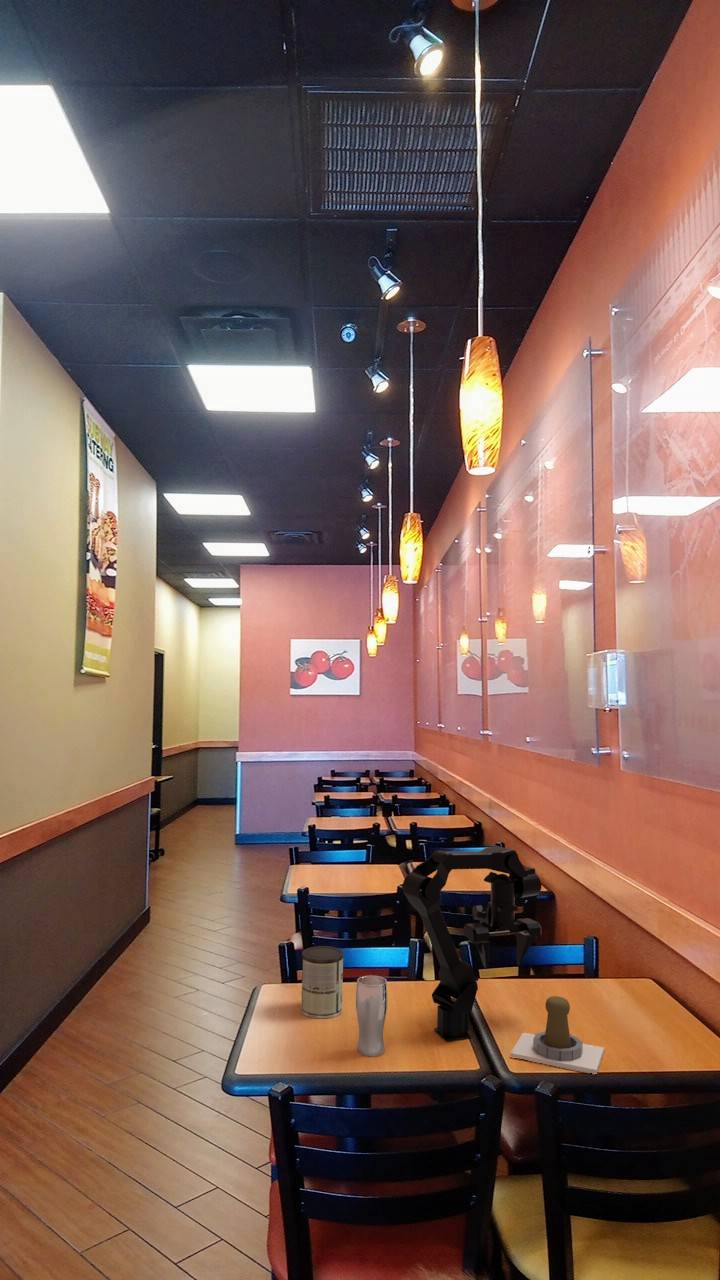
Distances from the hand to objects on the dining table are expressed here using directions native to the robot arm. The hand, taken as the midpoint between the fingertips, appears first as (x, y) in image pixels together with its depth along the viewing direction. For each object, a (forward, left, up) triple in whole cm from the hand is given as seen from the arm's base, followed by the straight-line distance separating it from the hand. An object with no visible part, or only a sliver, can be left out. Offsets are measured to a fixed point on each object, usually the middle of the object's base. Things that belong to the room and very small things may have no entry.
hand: (502, 966), depth 195 cm
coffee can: (-39, +20, -13) cm, 46 cm away
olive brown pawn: (+2, -20, -12) cm, 23 cm away
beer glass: (-36, -5, -13) cm, 39 cm away
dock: (+2, -20, -13) cm, 24 cm away
